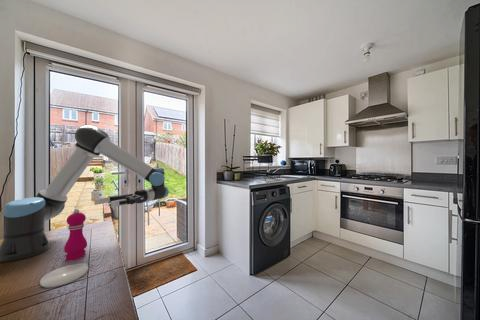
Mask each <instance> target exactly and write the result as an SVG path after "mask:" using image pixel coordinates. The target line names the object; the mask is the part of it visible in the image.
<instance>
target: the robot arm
mask: <svg viewBox="0 0 480 320" xmlns="http://www.w3.org/2000/svg"><path fill="white" fill-rule="evenodd" d="M74 139H75V141H76V143H75V144H74V147H75V150H74V151H73V153H72V154H71V155H70V157H69V158H68V159H67V161H65V163H64V165H63V166H62V167H61V169H59V171H58V172H57V174H56V175H55V176H54V178H53V179H52V181H51V182H50V183H49V185H48V186H47V187H46V188H45V189H41V190H39V191H38V193H37V194H36V196H34V197H24V198H21V199H16V200H15V199H14V200H12V201H9V202H7V203H6V204H5V206H3V207H4V210H3V212H2V213H3V214H2V215H3V234H2V235H3V236H2V237H3V239H2V242H1V244H0V263H9V262H14V261H19V260H24V259H27V258H31V257H35V256H37V255H39V254H42V253H43V252H46V251H48V250H49V248H50V241H49V238H48V237H47V235H46V233H45V222H47V221H49V220H51V219H53V218H55V217H58V215H60V213H62V212H63V211H64V209H65V206H66V202H67V201H68V196H67V195H68V193H70V191H71V189H72V188H73V187H74V186H75V184H76V183H77V181H78V180H79V178H81V176H82V175H83V173H84V172H85V171H86V169H87V168H88V166H89V165H90V164H91V162H92V161H93V159H94V158H95V157H99V156H100V155H102V156H105V157H106V158H108V159H109V160H111V161H113V162H114V163H116V164H117V165H120V166H122V167H123V168H124V169H126V170H128V171H130V172H131V173H133V174H135V175H136V176H138V177H140V178H142V179H143V180H145V181H147V182H148V183H150V186H151V187H149V188H143V189H137V190H135V191H134V193H127V194H118V195H109V196H105V197H100V198H95V199H94V201H93V202H94V204H93V205H94V206H97V205H102V204H110V208H115V207H120V206H125V205H134V204H143V203H150V202H151V201H156V200H162V199H164V198H167V197H168V196H169V192H170V191H169V188H168V187H167V186H165V179H166V178H165V175H166V174H165V168H163V167H158V168H155V167H152V166H151V165H149V164H148V163H146V162H145V161H143V160H141V159H140V158H137V157H136V156H134V154H132V153H130V152H128V151H127V150H125V149H124V148H123V147H121V146H119V145H118V144H116V143H114V142H112V141H111V139H110V136H109V135H108V133H107V132H105V131H104V130H102V129H100V128H98V127H96V126H93V125H83V126H80V127H78V128H77V129H76V131H75V132H74Z"/></svg>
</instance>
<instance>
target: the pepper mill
mask: <svg viewBox="0 0 480 320" xmlns="http://www.w3.org/2000/svg"><path fill="white" fill-rule="evenodd" d="M86 218H87V217H86V215H85V214H84V213H82V212H80V209H77V208H76V209H74V211H73V213H72V214H70V215H68V216H67V218H66V223H67V225H68V227H67V230H68V231H69V236H68V237H67V238H68V239H67V241H66V242H65V244H64V248H63V252H64V253H65V261H66V262H71V261H72V262H73V261H76V260H80V259H82V258H84V257H85V256H86V253H87V252H86V248H87V247H88V241H87V239H86V238H85V235H84V233H83V229H84V227H85V223H84V222H85V221H86Z"/></svg>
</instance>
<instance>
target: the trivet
mask: <svg viewBox="0 0 480 320" xmlns="http://www.w3.org/2000/svg"><path fill="white" fill-rule="evenodd" d="M88 272H89V265H88V264H87V263H74V264H69V265H66V266H62V267H59V268H56V269H54V270H52V271H50V272H48V273H46V274H45V275H43V277H42V278H40V280H39V281H40V282H39V284H40V287H42V288H46V289H47V288H56V287H60V286H64V285H66V284H69V283H72V282H75V281H76V280H79V279H81V278H82V277H83V276H85V275H86V274H87V273H88Z"/></svg>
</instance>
